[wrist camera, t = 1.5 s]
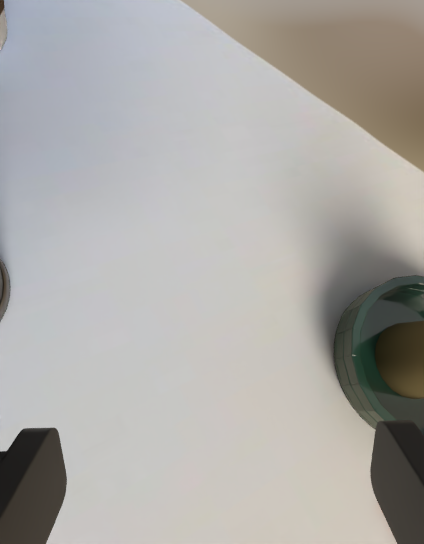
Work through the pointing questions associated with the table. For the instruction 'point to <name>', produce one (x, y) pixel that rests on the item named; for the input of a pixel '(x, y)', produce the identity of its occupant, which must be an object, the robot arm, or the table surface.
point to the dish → (362, 343)
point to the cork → (402, 358)
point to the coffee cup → (2, 25)
